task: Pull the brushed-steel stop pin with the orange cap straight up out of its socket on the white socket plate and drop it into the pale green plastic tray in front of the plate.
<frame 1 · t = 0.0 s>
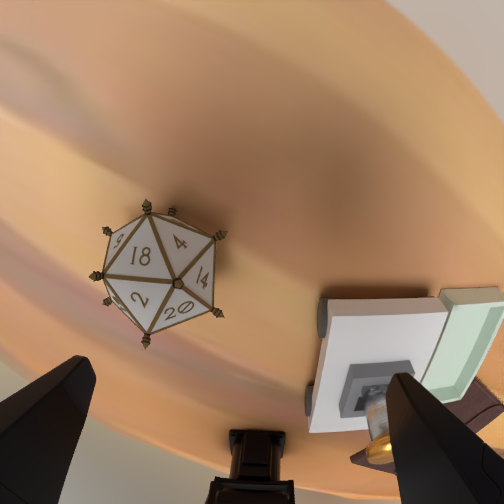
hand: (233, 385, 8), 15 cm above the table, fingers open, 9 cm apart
white socket plate: (363, 351, 26), on the table
game die: (176, 244, 23), on the table
stop pin: (373, 384, 22), point 4 cm above the table, touching white socket plate
notebook: (432, 429, 33), on the table
tray: (449, 344, 25), on the table
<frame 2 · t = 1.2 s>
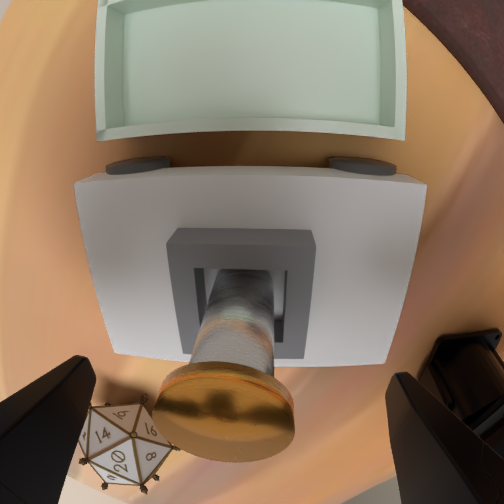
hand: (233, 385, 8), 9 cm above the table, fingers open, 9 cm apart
white socket plate: (250, 246, 16), on the table
game die: (137, 407, 24), on the table
stop pin: (244, 287, 13), point 4 cm above the table, touching white socket plate
tray: (249, 56, 12), on the table
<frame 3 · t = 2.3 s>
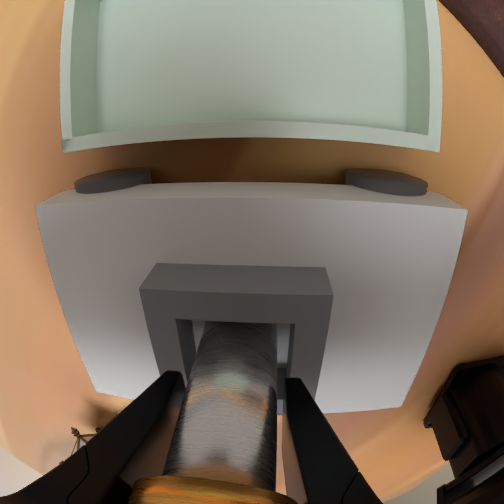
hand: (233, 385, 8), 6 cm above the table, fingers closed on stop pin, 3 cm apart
white socket plate: (249, 274, 14), on the table
stop pin: (240, 333, 10), point 4 cm above the table, touching gripper, white socket plate
tray: (247, 45, 10), on the table
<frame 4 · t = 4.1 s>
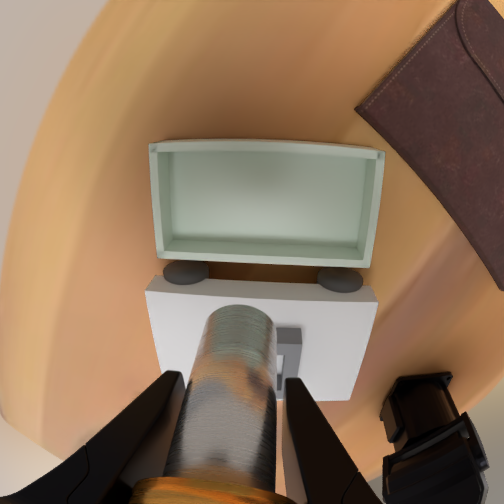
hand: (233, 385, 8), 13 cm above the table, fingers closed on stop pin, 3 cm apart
white socket plate: (261, 320, 23), on the table
stop pin: (240, 334, 10), point 11 cm above the table, touching gripper
notebook: (498, 142, 17), on the table
tray: (266, 195, 19), on the table
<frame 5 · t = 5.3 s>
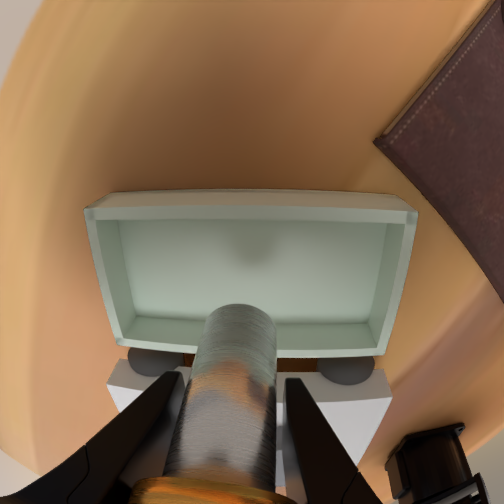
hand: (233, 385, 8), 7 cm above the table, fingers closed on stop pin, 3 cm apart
white socket plate: (251, 396, 19), on the table
stop pin: (240, 333, 10), point 5 cm above the table, touching gripper
tray: (249, 263, 15), on the table
when the fingers open (5 cm above the table, at t = 6.0 s): stop pin drops 2 cm, resting on tray.
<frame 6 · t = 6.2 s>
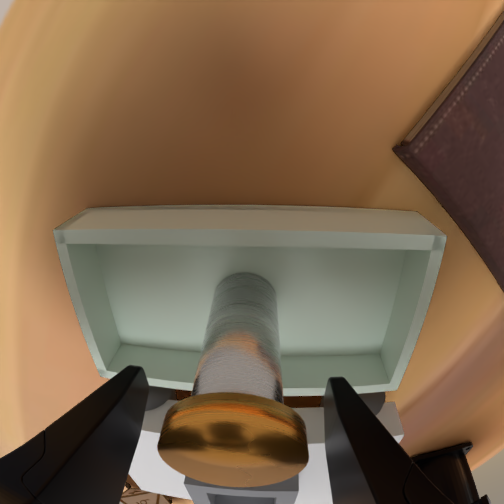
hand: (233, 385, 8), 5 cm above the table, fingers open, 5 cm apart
white socket plate: (249, 424, 17), on the table
game die: (153, 487, 24), on the table
stop pin: (245, 299, 12), point 1 cm above the table, touching tray
tray: (246, 290, 13), on the table
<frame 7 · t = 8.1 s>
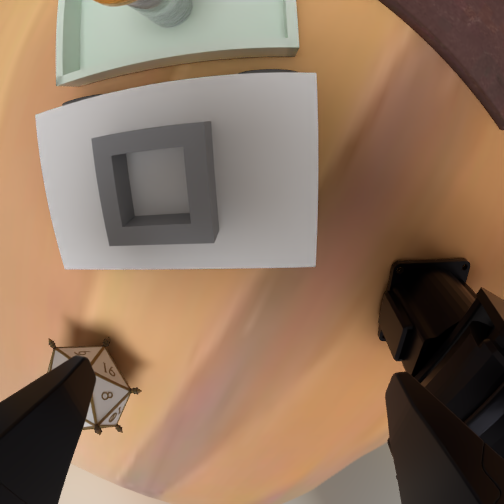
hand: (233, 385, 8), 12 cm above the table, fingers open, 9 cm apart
white socket plate: (183, 166, 17), on the table
game die: (103, 356, 25), on the table
stop pin: (171, 9, 13), point 1 cm above the table, touching tray
tray: (174, 11, 13), on the table
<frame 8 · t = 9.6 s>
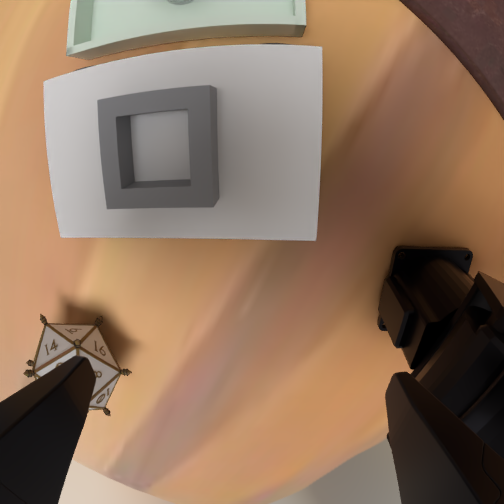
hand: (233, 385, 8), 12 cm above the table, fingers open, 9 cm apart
white socket plate: (186, 139, 17), on the table
game die: (95, 336, 24), on the table
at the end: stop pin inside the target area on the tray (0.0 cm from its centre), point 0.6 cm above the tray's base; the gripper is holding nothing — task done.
